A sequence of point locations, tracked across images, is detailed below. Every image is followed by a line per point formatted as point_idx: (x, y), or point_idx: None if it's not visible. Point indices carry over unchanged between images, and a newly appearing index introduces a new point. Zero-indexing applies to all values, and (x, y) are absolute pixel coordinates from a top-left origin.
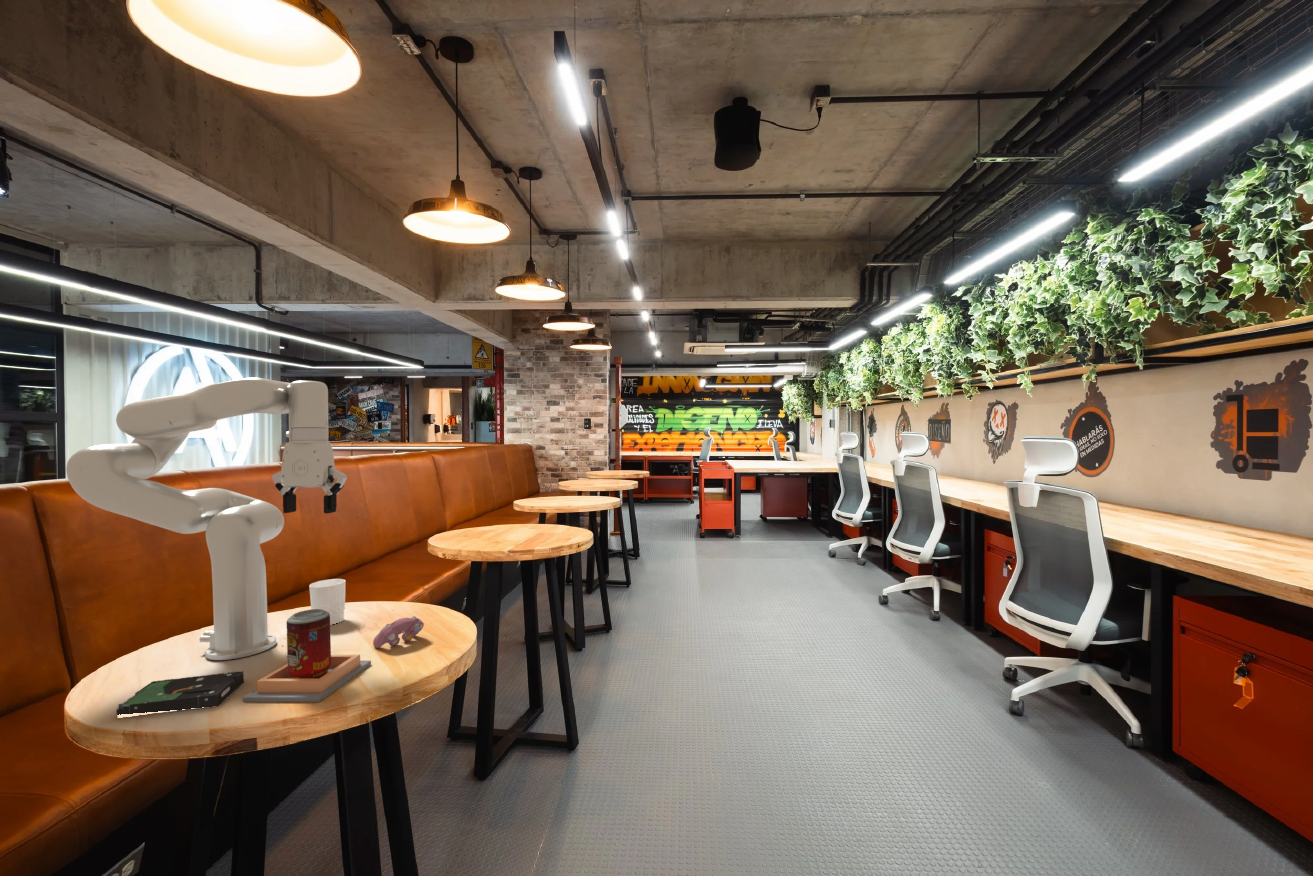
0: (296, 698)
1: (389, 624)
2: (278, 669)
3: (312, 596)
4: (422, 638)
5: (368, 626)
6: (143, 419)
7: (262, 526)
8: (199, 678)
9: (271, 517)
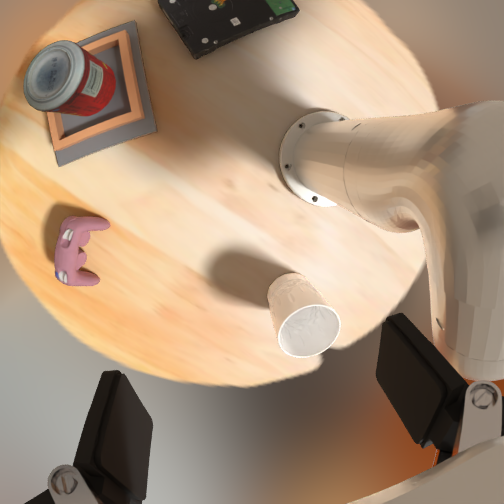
0: None
1: (68, 237)
2: (128, 64)
3: (314, 295)
4: None
5: (202, 295)
6: None
7: (442, 241)
8: (239, 23)
9: (465, 320)
